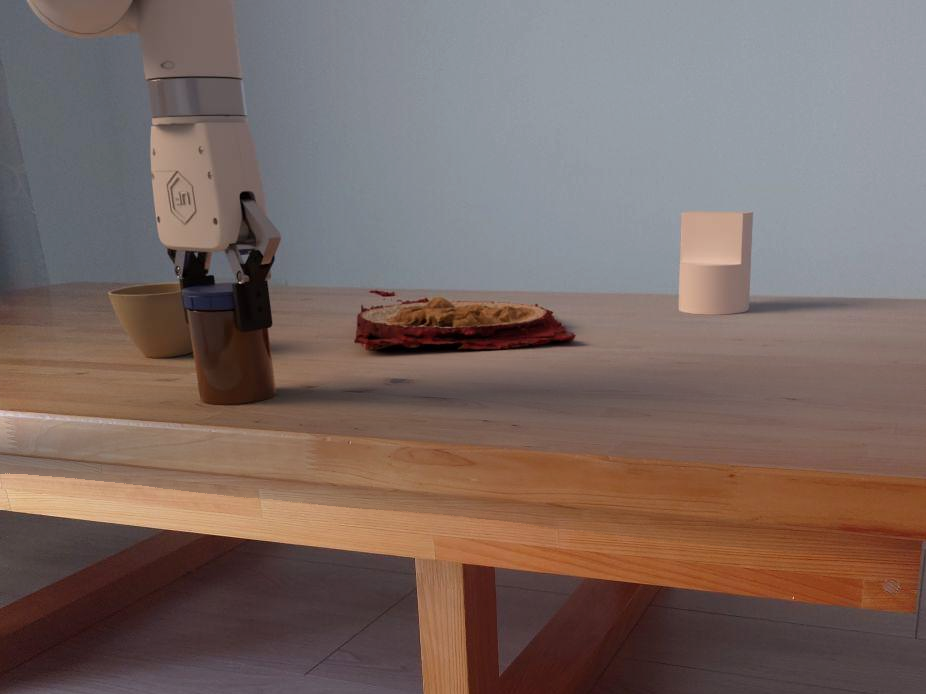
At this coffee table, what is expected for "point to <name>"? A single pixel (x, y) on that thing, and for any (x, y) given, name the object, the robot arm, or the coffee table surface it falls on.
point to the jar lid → (209, 296)
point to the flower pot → (154, 318)
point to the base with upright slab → (715, 262)
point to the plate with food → (457, 324)
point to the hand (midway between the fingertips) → (228, 324)
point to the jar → (230, 359)
